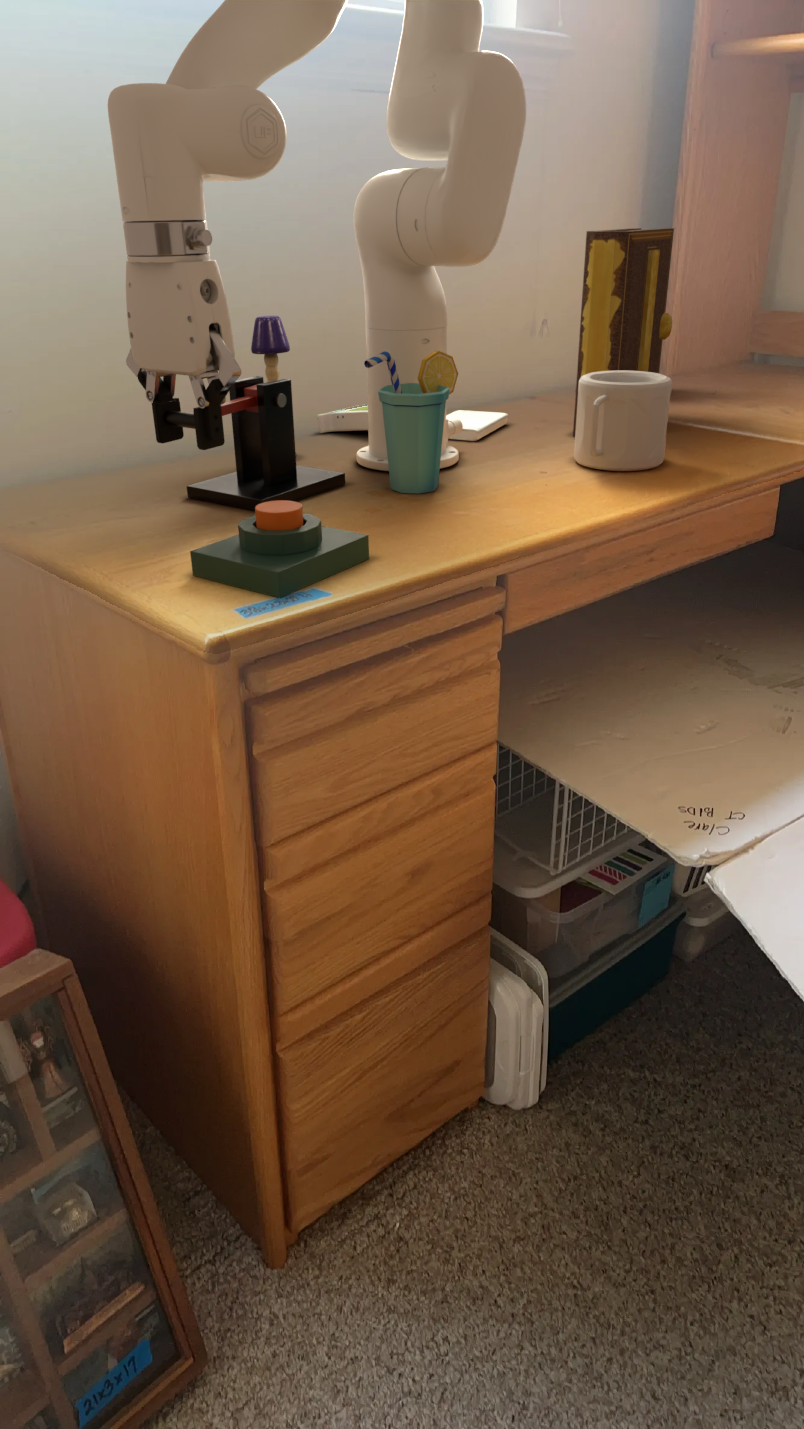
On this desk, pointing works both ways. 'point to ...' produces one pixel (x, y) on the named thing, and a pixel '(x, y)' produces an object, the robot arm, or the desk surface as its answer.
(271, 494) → the bracket
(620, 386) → the mug
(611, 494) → the desk surface
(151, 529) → the desk surface
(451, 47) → the robot arm
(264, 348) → the toy lamp
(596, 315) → the book
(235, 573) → the control block
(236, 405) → the lever
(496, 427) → the hard drive
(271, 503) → the button
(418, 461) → the cup
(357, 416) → the handheld gaming console
